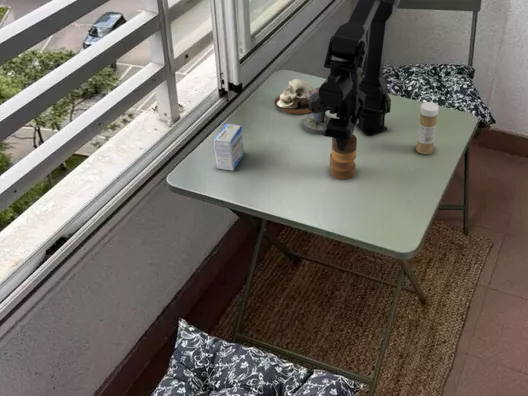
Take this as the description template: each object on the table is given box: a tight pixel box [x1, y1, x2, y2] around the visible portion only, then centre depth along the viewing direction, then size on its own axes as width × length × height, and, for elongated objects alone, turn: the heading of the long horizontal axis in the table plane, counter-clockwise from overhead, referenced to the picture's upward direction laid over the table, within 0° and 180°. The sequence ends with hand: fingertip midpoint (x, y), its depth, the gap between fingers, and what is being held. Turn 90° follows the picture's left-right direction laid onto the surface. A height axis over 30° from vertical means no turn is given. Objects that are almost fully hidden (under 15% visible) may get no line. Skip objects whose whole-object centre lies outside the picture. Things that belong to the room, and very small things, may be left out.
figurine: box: [302, 87, 332, 135], centre depth 183 cm, size 8×8×12 cm
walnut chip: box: [331, 134, 358, 154], centre depth 164 cm, size 6×6×2 cm
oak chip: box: [331, 148, 357, 163], centre depth 166 cm, size 6×6×2 cm
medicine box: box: [213, 123, 245, 172], centre depth 169 cm, size 8×4×9 cm, turn 168°
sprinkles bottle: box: [415, 101, 439, 155], centre depth 176 cm, size 5×5×13 cm
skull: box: [274, 78, 314, 115], centre depth 194 cm, size 12×10×10 cm
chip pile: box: [329, 152, 356, 181], centre depth 168 cm, size 6×6×5 cm
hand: (344, 143), depth 165 cm, fingers closed on walnut chip, 6 cm apart
